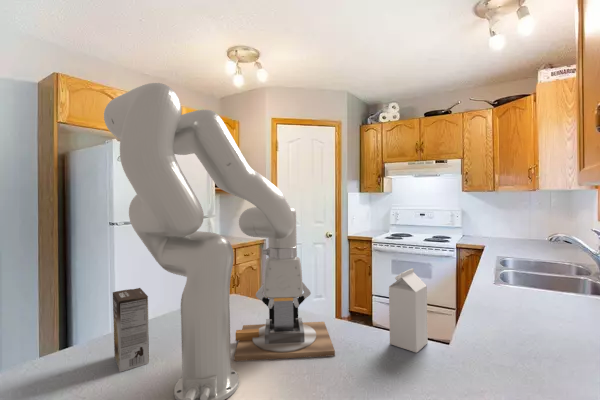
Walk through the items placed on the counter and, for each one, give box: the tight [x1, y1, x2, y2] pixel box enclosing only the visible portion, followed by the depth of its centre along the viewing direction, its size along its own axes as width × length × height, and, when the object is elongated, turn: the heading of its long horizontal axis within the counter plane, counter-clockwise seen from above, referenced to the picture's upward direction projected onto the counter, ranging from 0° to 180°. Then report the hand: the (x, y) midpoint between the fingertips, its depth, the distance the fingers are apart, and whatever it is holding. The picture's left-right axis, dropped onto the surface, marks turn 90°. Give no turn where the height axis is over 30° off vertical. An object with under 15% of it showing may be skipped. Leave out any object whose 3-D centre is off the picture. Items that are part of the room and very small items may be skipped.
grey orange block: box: [274, 298, 294, 332], centre depth 83 cm, size 5×5×9 cm
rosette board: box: [233, 317, 336, 362], centre depth 84 cm, size 18×25×4 cm
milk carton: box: [388, 267, 429, 353], centre depth 81 cm, size 7×7×19 cm
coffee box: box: [112, 287, 150, 373], centre depth 75 cm, size 9×6×16 cm
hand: (283, 320), depth 83 cm, fingers closed on grey orange block, 4 cm apart
